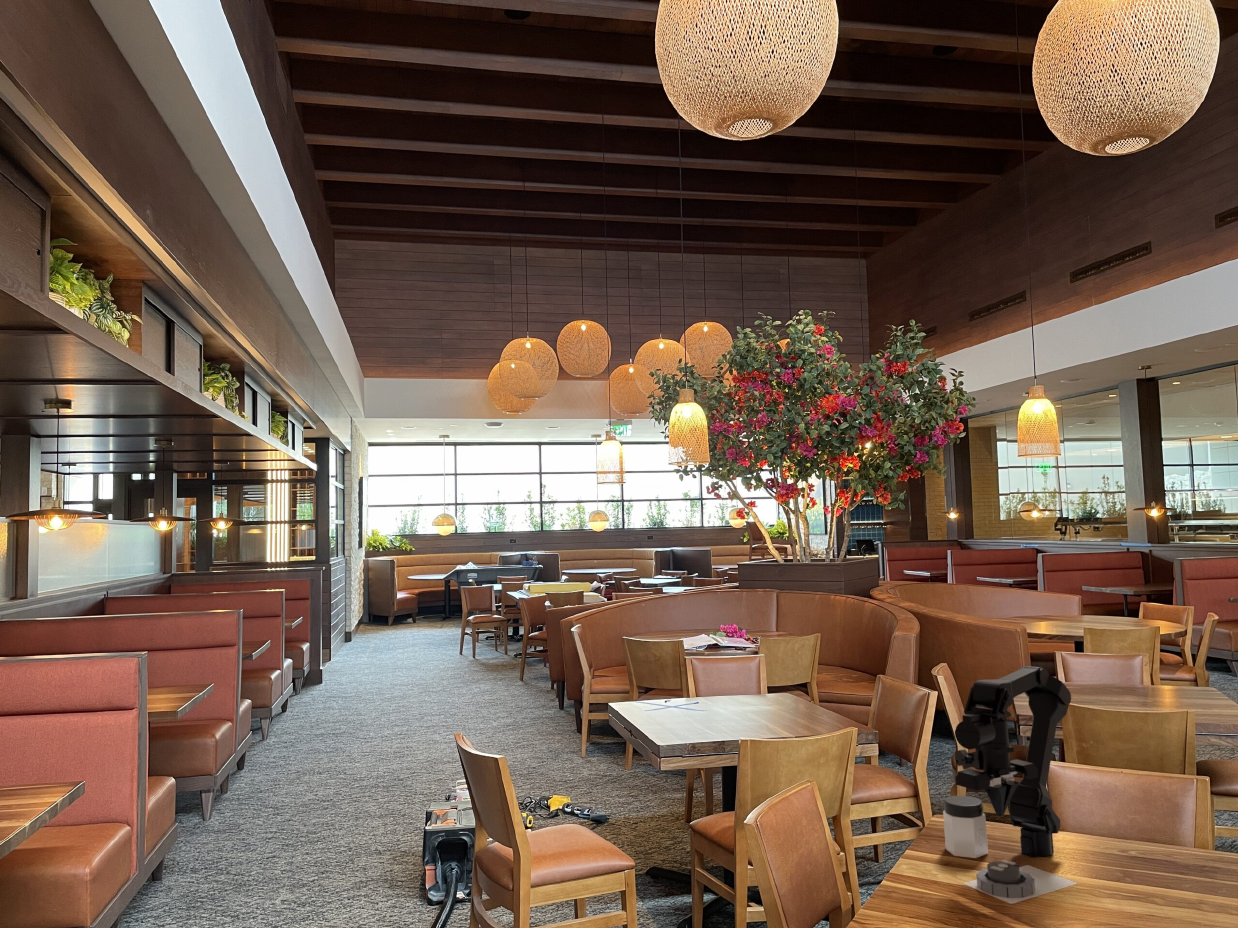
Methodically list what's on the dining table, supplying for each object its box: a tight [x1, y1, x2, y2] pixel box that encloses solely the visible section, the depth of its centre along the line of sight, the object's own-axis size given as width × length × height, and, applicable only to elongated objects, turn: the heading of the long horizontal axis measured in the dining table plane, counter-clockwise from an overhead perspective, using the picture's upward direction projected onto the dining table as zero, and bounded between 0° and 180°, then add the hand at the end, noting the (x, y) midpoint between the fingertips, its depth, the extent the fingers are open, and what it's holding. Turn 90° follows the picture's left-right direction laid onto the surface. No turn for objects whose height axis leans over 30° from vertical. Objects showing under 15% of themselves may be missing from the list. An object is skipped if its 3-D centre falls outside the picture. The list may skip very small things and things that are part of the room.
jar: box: [942, 795, 989, 859], centre depth 202 cm, size 9×8×12 cm
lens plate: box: [962, 864, 1079, 905], centre depth 182 cm, size 19×12×3 cm, turn 116°
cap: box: [986, 859, 1021, 884], centre depth 181 cm, size 6×6×4 cm
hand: (999, 815), depth 191 cm, fingers closed
